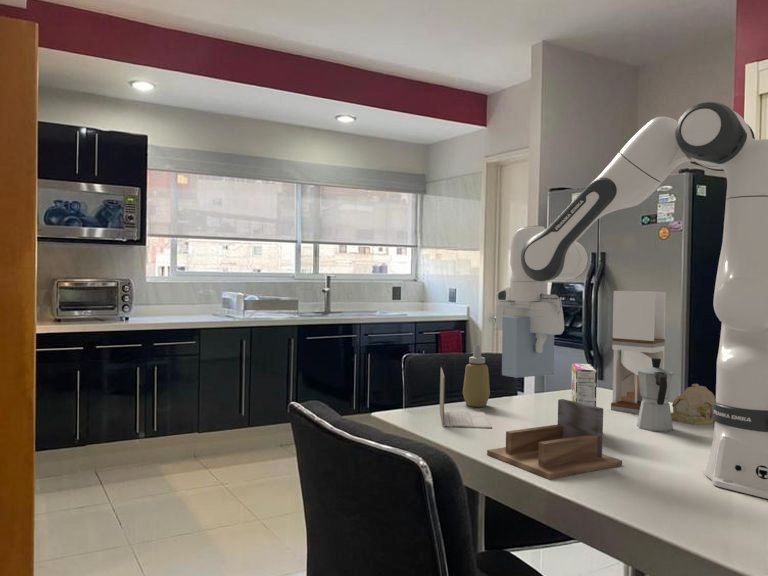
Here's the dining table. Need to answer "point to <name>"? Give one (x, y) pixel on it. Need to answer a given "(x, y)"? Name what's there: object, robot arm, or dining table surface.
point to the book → (524, 350)
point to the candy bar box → (584, 384)
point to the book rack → (560, 444)
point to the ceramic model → (694, 406)
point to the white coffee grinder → (635, 343)
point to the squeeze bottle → (476, 381)
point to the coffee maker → (655, 398)
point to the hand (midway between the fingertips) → (528, 351)
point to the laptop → (460, 414)
